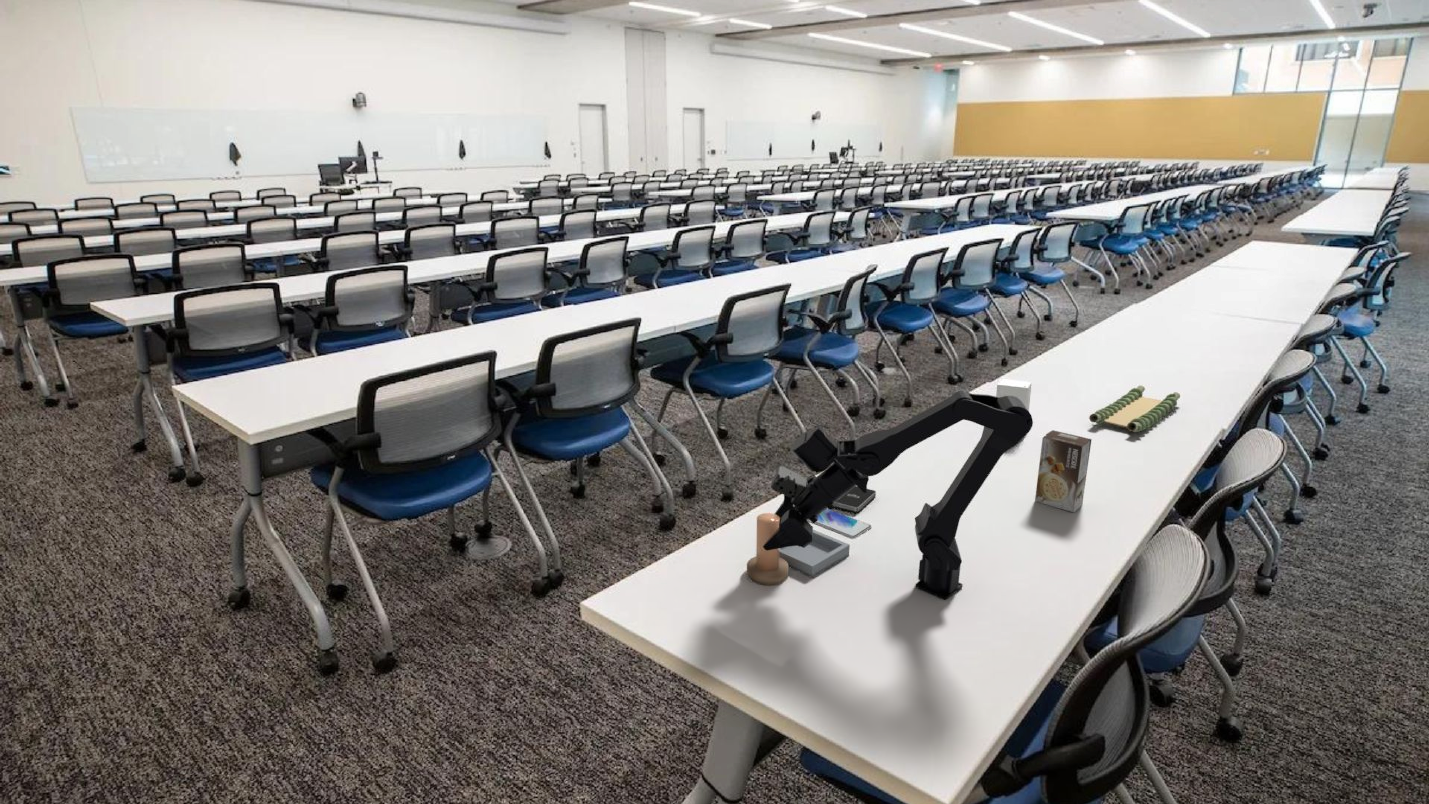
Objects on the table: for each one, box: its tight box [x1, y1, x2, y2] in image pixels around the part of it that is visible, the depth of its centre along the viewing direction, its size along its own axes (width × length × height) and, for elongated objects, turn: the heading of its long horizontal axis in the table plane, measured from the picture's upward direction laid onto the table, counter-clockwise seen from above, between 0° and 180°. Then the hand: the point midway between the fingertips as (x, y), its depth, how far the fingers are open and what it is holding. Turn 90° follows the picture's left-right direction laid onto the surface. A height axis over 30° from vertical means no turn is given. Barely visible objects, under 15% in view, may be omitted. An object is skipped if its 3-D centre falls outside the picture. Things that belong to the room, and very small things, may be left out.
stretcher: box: [1088, 385, 1181, 433], centre depth 238 cm, size 41×14×5 cm, turn 135°
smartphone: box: [807, 508, 872, 539], centre depth 174 cm, size 7×1×15 cm
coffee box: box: [1034, 430, 1093, 513], centre depth 180 cm, size 9×6×16 cm
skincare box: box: [995, 378, 1032, 441], centre depth 222 cm, size 8×7×16 cm
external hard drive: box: [833, 486, 877, 515], centre depth 183 cm, size 7×11×2 cm, turn 147°
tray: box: [779, 529, 851, 579], centre depth 159 cm, size 12×12×2 cm
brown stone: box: [746, 556, 789, 586], centre depth 153 cm, size 8×8×2 cm
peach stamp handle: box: [755, 512, 780, 571], centre depth 151 cm, size 4×4×10 cm
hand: (766, 536), depth 150 cm, fingers open, 9 cm apart
